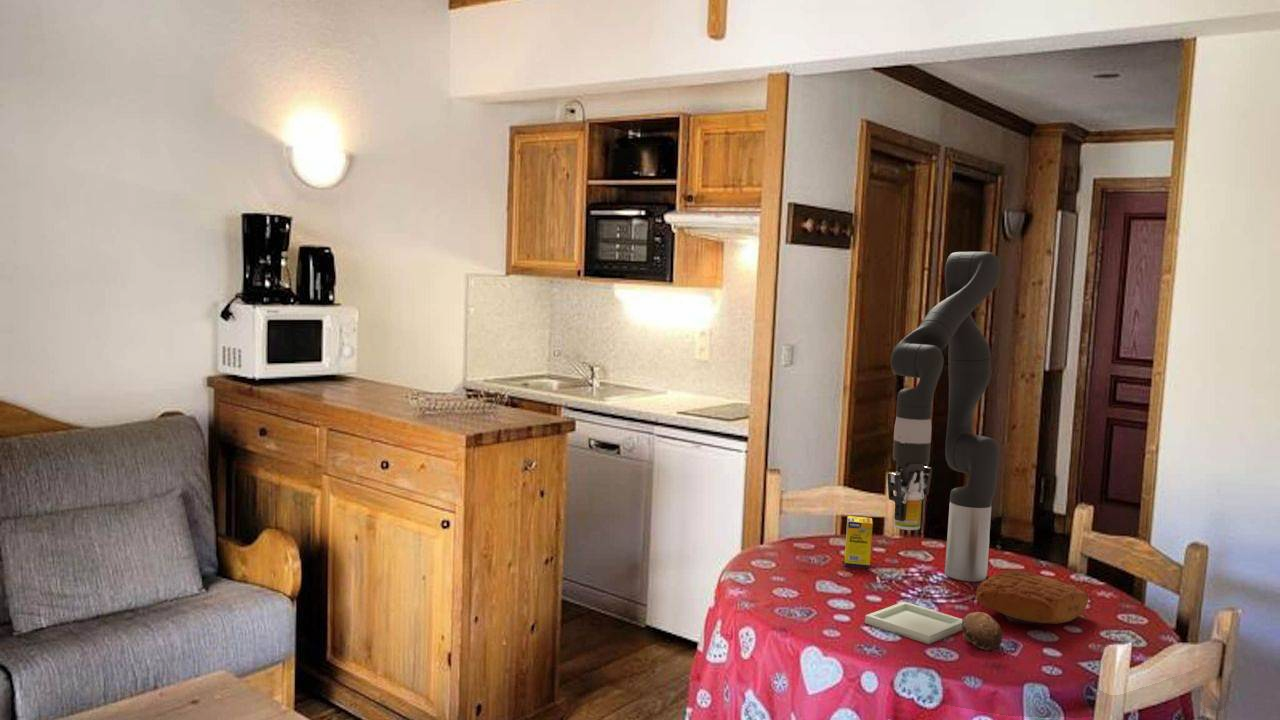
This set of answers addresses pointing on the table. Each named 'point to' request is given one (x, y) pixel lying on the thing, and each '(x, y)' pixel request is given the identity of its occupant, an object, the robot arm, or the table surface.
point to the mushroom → (981, 630)
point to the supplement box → (858, 541)
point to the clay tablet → (1032, 597)
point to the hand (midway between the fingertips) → (907, 517)
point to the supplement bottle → (911, 510)
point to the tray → (915, 622)
